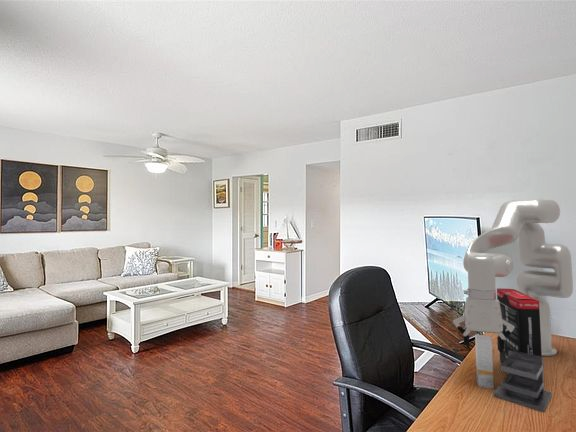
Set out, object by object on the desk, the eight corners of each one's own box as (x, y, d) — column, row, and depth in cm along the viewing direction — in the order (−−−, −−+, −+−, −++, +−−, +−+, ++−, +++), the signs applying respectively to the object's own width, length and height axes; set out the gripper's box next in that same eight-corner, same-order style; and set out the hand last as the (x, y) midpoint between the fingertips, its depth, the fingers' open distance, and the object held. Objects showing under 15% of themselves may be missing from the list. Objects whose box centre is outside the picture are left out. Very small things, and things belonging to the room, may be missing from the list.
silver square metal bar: (476, 380, 108) (474, 334, 108) (490, 382, 107) (489, 335, 107) (478, 386, 104) (477, 338, 105) (493, 388, 103) (492, 339, 103)
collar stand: (504, 382, 107) (503, 347, 107) (551, 395, 98) (550, 358, 98) (493, 396, 98) (492, 358, 99) (544, 412, 90) (542, 371, 90)
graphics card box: (545, 386, 103) (542, 298, 104) (520, 385, 105) (517, 298, 105) (518, 363, 120) (516, 288, 121) (497, 362, 121) (495, 287, 122)
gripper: (452, 295, 106) (454, 350, 105) (517, 298, 99) (519, 357, 99) (450, 290, 113) (452, 342, 112) (510, 293, 106) (512, 348, 106)
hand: (483, 349), depth 106 cm, fingers open, 8 cm apart
